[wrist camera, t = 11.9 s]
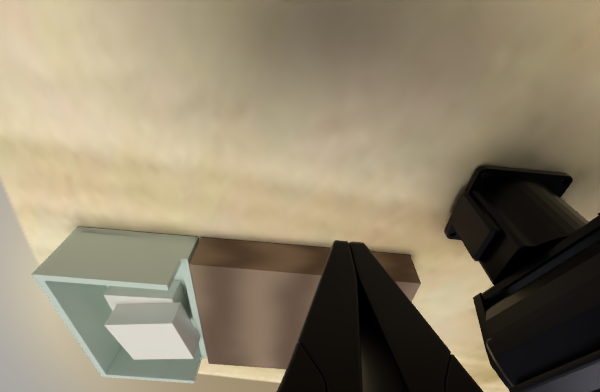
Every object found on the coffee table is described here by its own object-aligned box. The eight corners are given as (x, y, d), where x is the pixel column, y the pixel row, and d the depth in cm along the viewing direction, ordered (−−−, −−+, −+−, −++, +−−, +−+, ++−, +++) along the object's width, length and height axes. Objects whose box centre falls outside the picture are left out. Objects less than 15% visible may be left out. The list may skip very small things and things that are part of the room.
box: (197, 236, 25) (175, 285, 21) (213, 336, 34) (200, 383, 30) (77, 226, 24) (31, 274, 20) (126, 329, 34) (101, 376, 30)
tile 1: (180, 280, 27) (172, 299, 26) (190, 317, 31) (184, 335, 29) (116, 276, 27) (103, 294, 26) (133, 313, 31) (123, 331, 29)
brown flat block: (410, 254, 25) (420, 283, 23) (368, 348, 35) (372, 375, 32) (201, 237, 25) (189, 264, 22) (216, 336, 34) (208, 363, 32)
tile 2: (180, 302, 26) (172, 323, 24) (200, 338, 29) (193, 358, 28) (116, 304, 26) (104, 325, 25) (143, 339, 30) (133, 359, 28)
